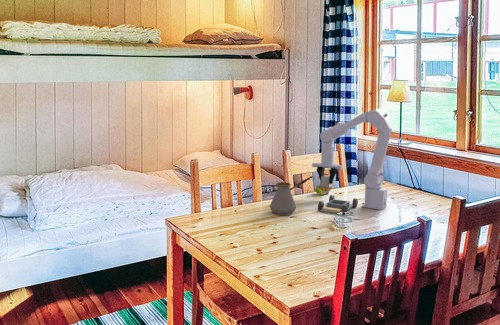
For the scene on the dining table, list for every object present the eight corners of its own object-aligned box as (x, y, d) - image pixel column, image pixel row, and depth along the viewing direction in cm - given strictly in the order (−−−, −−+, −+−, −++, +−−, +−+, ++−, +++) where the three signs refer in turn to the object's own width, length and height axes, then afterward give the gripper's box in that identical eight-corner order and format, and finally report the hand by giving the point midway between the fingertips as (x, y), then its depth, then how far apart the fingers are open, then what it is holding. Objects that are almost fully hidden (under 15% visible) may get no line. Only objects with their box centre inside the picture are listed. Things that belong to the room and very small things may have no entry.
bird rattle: (323, 196, 257) (309, 190, 253) (331, 175, 257) (318, 170, 253) (330, 199, 252) (316, 193, 247) (338, 178, 252) (325, 172, 247)
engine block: (332, 185, 242) (332, 175, 241) (328, 187, 239) (329, 177, 238) (324, 184, 244) (324, 174, 243) (320, 186, 241) (321, 176, 240)
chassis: (332, 202, 237) (332, 194, 236) (358, 206, 231) (358, 197, 230) (317, 211, 222) (317, 202, 221) (344, 215, 216) (344, 206, 215)
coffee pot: (278, 218, 212) (278, 183, 209) (264, 211, 222) (265, 177, 219) (320, 211, 221) (321, 178, 219) (305, 205, 231) (306, 173, 229)
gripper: (345, 155, 239) (344, 183, 241) (316, 152, 246) (315, 179, 248) (339, 157, 233) (338, 186, 235) (310, 154, 240) (310, 182, 242)
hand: (326, 183), depth 241 cm, fingers closed on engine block, 4 cm apart
